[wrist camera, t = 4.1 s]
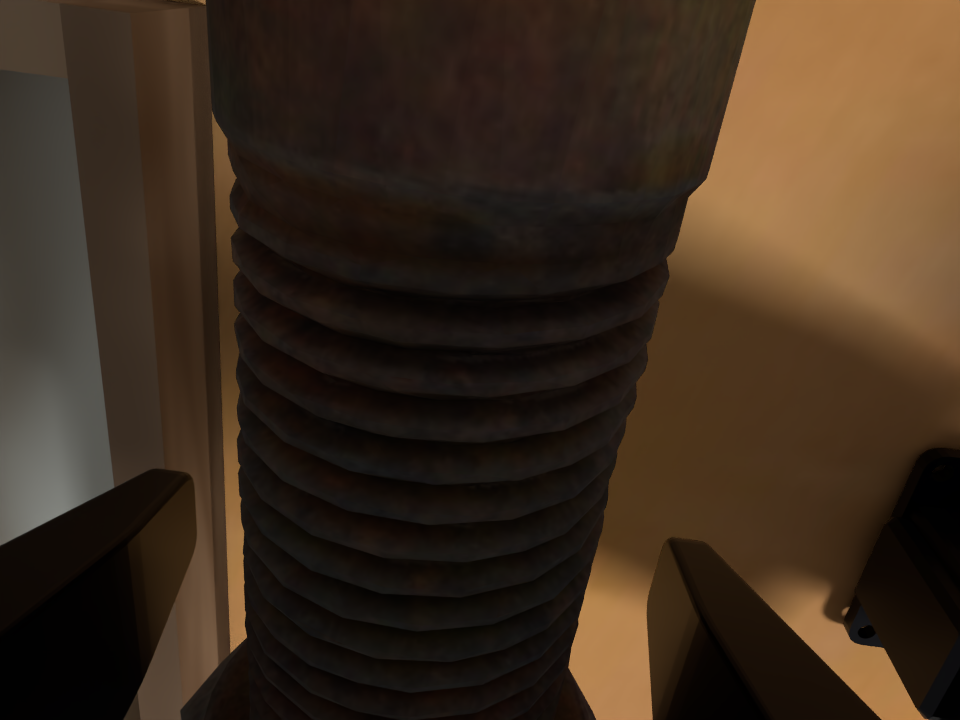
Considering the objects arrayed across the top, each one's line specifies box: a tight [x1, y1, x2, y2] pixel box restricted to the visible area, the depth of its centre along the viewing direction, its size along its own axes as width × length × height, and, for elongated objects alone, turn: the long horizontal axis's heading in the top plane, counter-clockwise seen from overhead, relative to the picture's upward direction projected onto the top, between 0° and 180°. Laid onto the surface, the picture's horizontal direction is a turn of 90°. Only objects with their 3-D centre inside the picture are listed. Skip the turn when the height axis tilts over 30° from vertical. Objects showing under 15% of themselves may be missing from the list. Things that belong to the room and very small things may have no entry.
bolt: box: [180, 0, 756, 720], centre depth 7 cm, size 6×5×15 cm
